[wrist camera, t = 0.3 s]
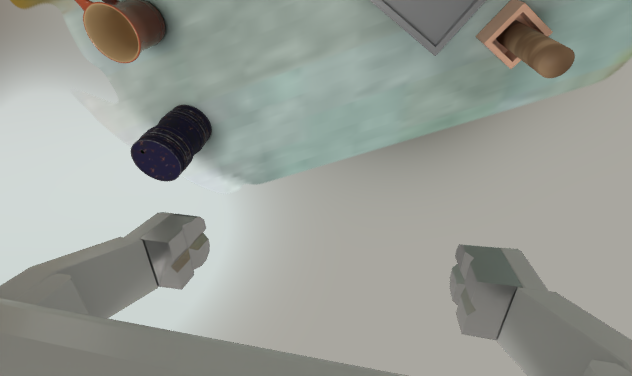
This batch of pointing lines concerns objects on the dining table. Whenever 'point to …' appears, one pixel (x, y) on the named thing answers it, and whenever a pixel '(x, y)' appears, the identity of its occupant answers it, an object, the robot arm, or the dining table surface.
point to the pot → (502, 21)
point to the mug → (122, 27)
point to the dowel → (537, 50)
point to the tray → (430, 18)
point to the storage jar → (171, 143)
